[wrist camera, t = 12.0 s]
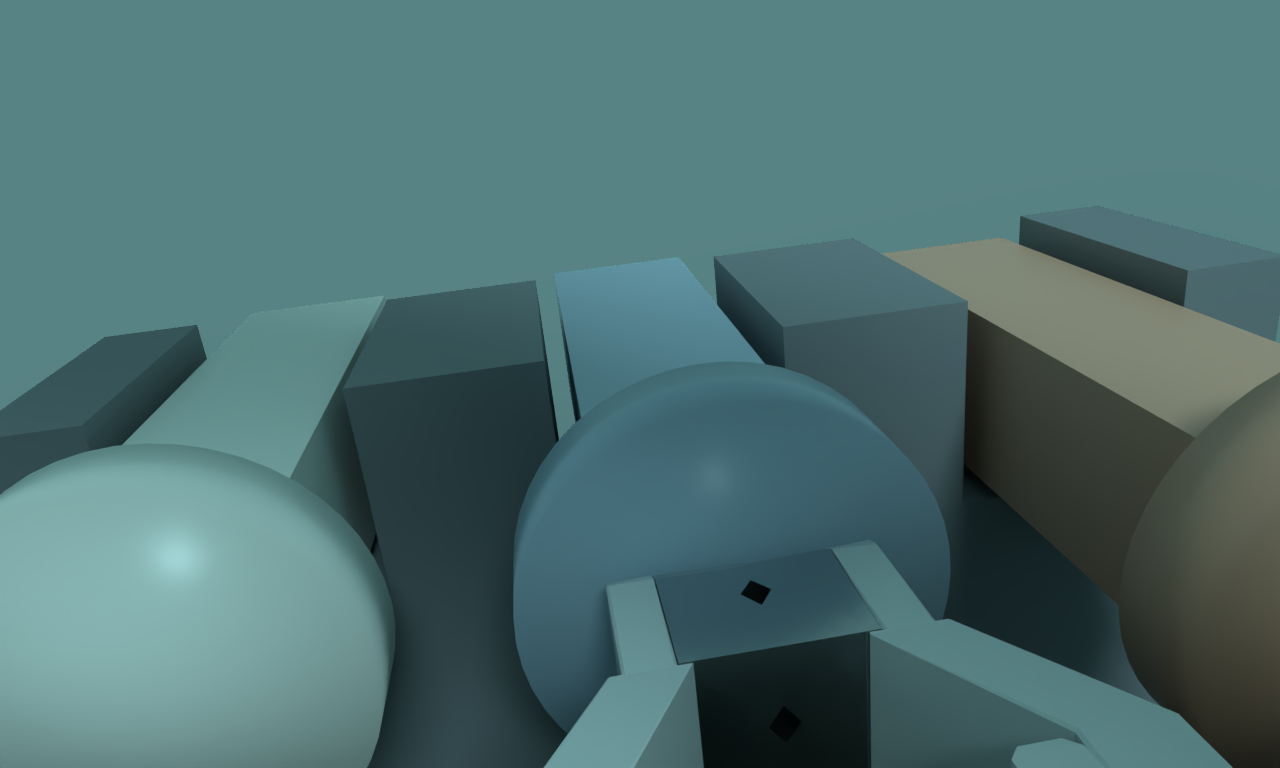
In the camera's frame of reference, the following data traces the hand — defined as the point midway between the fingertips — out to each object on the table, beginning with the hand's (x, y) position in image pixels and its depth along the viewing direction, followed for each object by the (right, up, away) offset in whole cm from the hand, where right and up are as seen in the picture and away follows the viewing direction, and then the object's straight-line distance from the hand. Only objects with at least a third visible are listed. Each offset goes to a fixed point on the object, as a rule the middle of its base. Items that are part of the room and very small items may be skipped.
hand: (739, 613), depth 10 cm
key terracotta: (+6, 0, +5) cm, 8 cm away
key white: (-7, -1, +6) cm, 9 cm away
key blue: (-1, 0, +6) cm, 6 cm away
